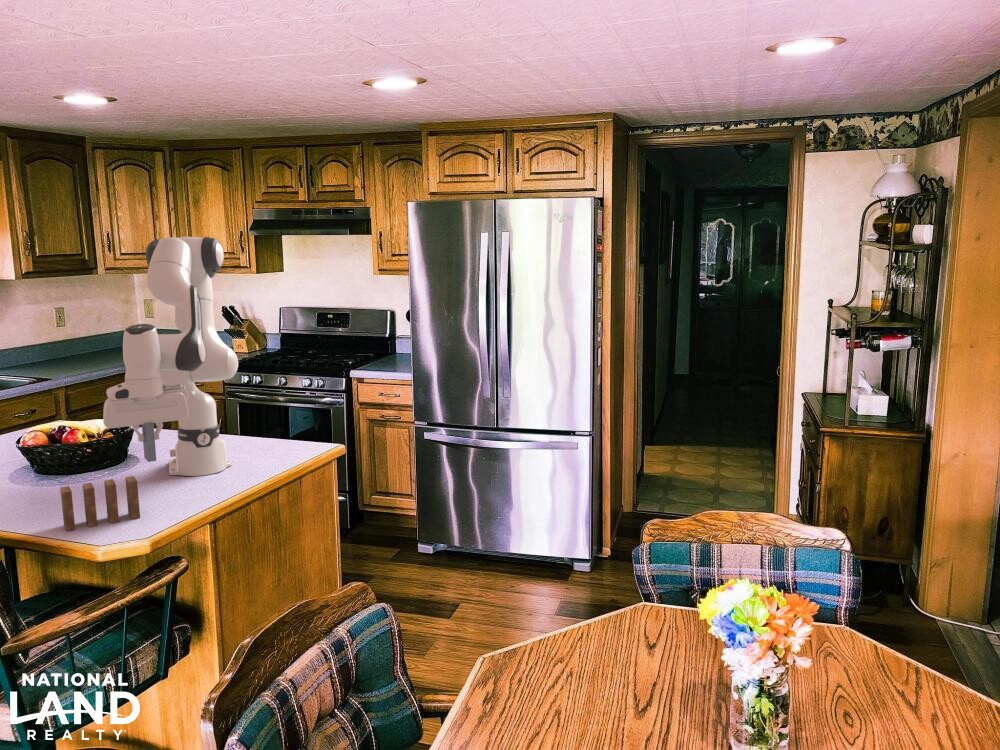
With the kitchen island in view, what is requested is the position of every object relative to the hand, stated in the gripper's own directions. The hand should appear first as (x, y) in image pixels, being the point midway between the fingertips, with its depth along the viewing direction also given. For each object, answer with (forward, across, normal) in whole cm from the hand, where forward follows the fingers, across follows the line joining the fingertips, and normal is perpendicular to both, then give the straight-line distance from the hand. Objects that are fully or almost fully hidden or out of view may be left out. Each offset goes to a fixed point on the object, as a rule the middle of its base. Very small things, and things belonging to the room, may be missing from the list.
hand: (148, 440), depth 208 cm
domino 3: (+20, +10, 0) cm, 22 cm away
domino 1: (+20, +20, 0) cm, 28 cm away
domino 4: (+20, +5, 0) cm, 20 cm away
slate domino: (+5, 0, 0) cm, 5 cm away
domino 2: (+20, +15, 0) cm, 25 cm away
